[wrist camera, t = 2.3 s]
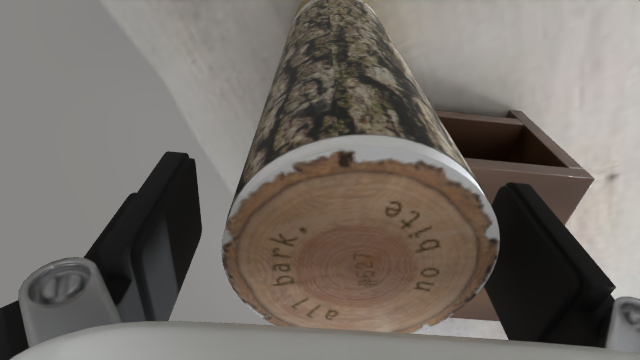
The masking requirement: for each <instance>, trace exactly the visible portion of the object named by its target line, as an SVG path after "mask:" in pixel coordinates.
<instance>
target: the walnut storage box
mask: <svg viewBox="0 0 640 360" xmlns="http://www.w3.org/2000/svg"><path fill="white" fill-rule="evenodd" d="M434 111H435V112H436V114H437V116H438V117H439V119H440V120H441V122H442V124H443V125H444V127H445V129H446V130H447V132H448V134H449V135H450V137H451V138H452V140H453V142H454V143H455V145H456V147H457V148H458V150H459V152H460V153H461V155H462V156H463V158H464V160H465V161H466V163H467V165H468V166H469V168H470V170H471V171H472V173H473V174H474V176H475V178H476V179H477V181H478V183H479V184H480V186H481V187H482V189H483V191H484V192H485V195H486V197H487V199H488V202H489V203H490V205H492V203H493V200H494V198H495V196H496V194H497V192H498V190H499V188H500V187H502V186H505V185H506V184H507V183H509V182H514V183H525V184H529V185H531V186H532V188H533V189H534V190H535V191H536V192H537V194H538V195H539V196H540V197H541V198H542V200H543V201H544V202H545V203H546V204H547V205H548V207H549V208H550V209H551V210H552V211H553V213H554V214H555V215H556V216H557V217H558V219H559V220H560V221H561V222H562V223H563V225H564V226H565V224H566V223H567V221H568V219H569V218H570V216H571V215H572V213H573V212H574V210H575V209H576V207H577V206H578V204H579V203H580V201H581V199H582V198H583V196H584V195H585V193H586V192H587V190H588V189H589V187H590V186H591V184H592V183H593V181H594V178H593V177H592V176H591V175H590V174H589V173H588V172H587V171H586V170H584V169H583V168H582V167H581V166H580V165H579V164H578V163H577V162H576V161H575V160H574V159H572V158H571V157H570V156H569V155H568V154H567V153H566V152H565V151H564V150H563V149H562V148H561V147H559V146H558V145H557V144H556V143H555V142H554V141H553V140H552V139H551V138H550V137H549V136H547V135H546V134H545V133H544V132H543V131H542V130H541V129H540V128H539V127H538V126H537V125H536V124H534V123H533V122H532V121H531V120H530V119H529V118H528V117H527V116H526V115H525V114H524V113H523V112H521V111H512V110H510V111H509V112H508V115H507V117H506V118H503V117H493V116H484V115H474V114H464V113H455V112H445V111H436V110H434ZM450 318H463V319H477V320H491V321H500V320H499V318H498V316H497V314H496V311H495V309H494V307H493V305H492V303H491V301H490V299H489V296H488V294H487V292H486V290H485V288H484V286H483V288H482V289H481V290H480V291H479V292H478V293H477V295H476V296H475V297H474V298H473V299H472V300H471V301H470V302H469V303H468V304H466V305H465V306H464V307H463V308H461V309H460V310H459V311H457V312H456V313H454V314H453V315H451V316H450Z"/></svg>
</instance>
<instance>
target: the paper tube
mask: <svg viewBox="0 0 640 360" xmlns="http://www.w3.org/2000/svg"><path fill="white" fill-rule="evenodd" d="M499 244H500V235H499V227H498V223H497V219H496V216H495V214H494V211H493V209H492V207H491V205H490V203H489V202H488V199H487V197H486V195H485V192H484V191H483V189H482V187H481V186H480V184H479V183H478V181H477V179H476V178H475V176H474V174H473V173H472V171H471V170H470V168H469V166H468V165H467V163H466V161H465V160H464V158H463V156H462V155H461V153H460V152H459V150H458V148H457V147H456V145H455V143H454V142H453V140H452V138H451V137H450V135H449V134H448V132H447V130H446V129H445V127H444V125H443V124H442V122H441V120H440V119H439V117H438V116H437V114H436V112H435V111H434V109H433V107H432V106H431V104H430V102H429V101H428V99H427V98H426V96H425V94H424V93H423V91H422V89H421V88H420V86H419V84H418V83H417V81H416V80H415V78H414V76H413V75H412V73H411V71H410V70H409V68H408V66H407V65H406V63H405V62H404V60H403V58H402V57H401V55H400V53H399V52H398V50H397V48H396V47H395V45H394V44H393V42H392V40H391V39H390V37H389V35H388V34H387V32H386V30H385V29H384V27H383V26H382V24H381V22H380V21H379V19H378V18H377V16H376V14H375V13H374V11H373V10H372V8H371V7H370V5H369V4H368V2H367V1H366V0H305V1H304V2H303V3H302V4H301V6H300V7H299V9H298V11H297V13H296V15H295V18H294V21H293V23H292V26H291V29H290V32H289V35H288V38H287V41H286V44H285V47H284V50H283V53H282V56H281V59H280V62H279V65H278V68H277V71H276V74H275V77H274V80H273V83H272V86H271V88H270V91H269V94H268V97H267V100H266V103H265V106H264V109H263V112H262V115H261V118H260V121H259V124H258V127H257V130H256V133H255V136H254V139H253V142H252V145H251V148H250V151H249V154H248V157H247V160H246V163H245V166H244V169H243V172H242V175H241V178H240V181H239V184H238V187H237V190H236V193H235V196H234V199H233V202H232V205H231V208H230V211H229V214H228V217H227V222H226V227H225V230H224V234H223V239H222V261H223V266H224V269H225V273H226V275H227V278H228V280H229V282H230V283H231V286H232V287H233V289H234V290H235V292H236V293H237V295H238V296H239V297H240V298H241V300H242V301H243V302H244V303H245V304H246V305H247V306H248V307H249V308H251V309H252V310H253V311H254V312H255V313H257V314H258V315H259V316H261V317H262V318H264V319H265V320H267V321H269V322H270V323H272V324H274V325H276V326H290V327H308V328H325V329H343V330H359V331H375V332H391V333H407V334H413V333H416V332H419V331H421V330H424V329H427V328H429V327H431V326H433V325H435V324H438V323H440V322H441V321H443V320H445V319H447V318H448V317H450V316H451V315H453V314H454V313H456V312H457V311H459V310H460V309H461V308H463V307H464V306H465V305H466V304H468V303H469V302H470V301H471V300H472V299H473V298H474V297H475V296H476V295H477V293H478V292H479V291H480V290H481V289H482V288H483V286H484V285H485V283H486V282H487V280H488V279H489V277H490V275H491V273H492V271H493V269H494V266H495V263H496V261H497V257H498V252H499Z"/></svg>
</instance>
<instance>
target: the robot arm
mask: <svg viewBox="0 0 640 360" xmlns="http://www.w3.org/2000/svg"><path fill="white" fill-rule="evenodd" d="M195 165H196V164H195V160H194V159H192V158H189V156H188V154H187V153H179V152H166V153H165V154H164V155H163V157H162V158H161V160H160V161H159V163H158V164H157V165H156V167H155V168H154V170H153V171H152V172H151V174H150V175H149V177H148V178H147V180H146V181H145V183H144V184H143V185H142V187H141V188H140V190H139V191H138V192H137V193H132V194H130V195H129V196H128V197H127V199H126V200H125V201H124V203H123V204H122V206H121V207H120V208H119V210H118V211H117V213H116V214H115V215H114V217H113V218H112V219H111V221H110V222H109V224H108V225H107V226H106V228H105V229H104V230H103V232H102V233H101V234H100V236H99V237H98V239H97V240H96V241H95V243H94V244H93V245H92V247H91V248H90V250H89V251H88V253H87V254H86V255H85V256H84V258H79V257H73V258H64V259H60V260H56V261H53V262H51V263H48V264H46V265H44V266H42V267H40V268H39V269H38V270H36V271H35V272H33V273H31V275H30V276H29V277H28V278H27V279H26V280H25V281H24V282H23V284H22V285H21V287H20V289H19V295H18V296H19V297H18V301H15V302H13V303H11V304H9V305H6V306H4V307H2V308H0V360H640V299H637V298H633V297H620V298H617V299H616V300H614V298H613V297H612V296H611V295H610V294H611V293H612V292H613V290H614V289H615V288H616V287H615V285H614V284H613V283H612V282H611V281H610V279H609V278H608V277H607V276H606V275H605V273H604V272H603V271H602V270H601V269H600V267H599V266H598V265H597V264H596V263H595V262H594V260H593V259H592V258H591V257H590V256H589V254H588V253H587V252H586V251H585V250H584V248H583V247H582V246H581V245H580V244H579V242H578V241H577V240H576V239H575V238H574V236H573V235H572V234H571V233H570V232H569V231H568V229H567V228H566V227H565V226H564V225H563V223H562V222H561V221H560V220H559V219H558V217H557V216H556V215H555V214H554V213H553V211H552V210H551V209H550V208H549V207H548V205H547V204H546V203H545V202H544V201H543V200H542V198H541V197H540V196H539V195H538V194H537V192H536V191H535V190H534V189H533V188H532V186H531V185H529V184H525V183H514V182H509V183H507V184H506V185H505V186H502V187H500V188H499V190H498V192H497V194H496V196H495V198H494V200H493V203H492V205H491V207H492V209H493V211H494V214H495V216H496V219H497V223H498V227H499V235H500V244H499V252H498V257H497V261H496V263H495V266H494V269H493V271H492V273H491V275H490V277H489V279H488V280H487V282H486V283H485V285H484V288H485V290H486V292H487V294H488V296H489V299H490V301H491V303H492V305H493V307H494V309H495V311H496V314H497V316H498V318H499V320H500V322H501V324H502V326H503V329H504V331H505V333H506V335H507V337H508V339H509V340H498V339H483V338H469V337H454V336H439V335H423V334H407V333H391V332H375V331H359V330H343V329H325V328H308V327H290V326H273V325H255V324H235V323H212V322H186V321H168V320H169V317H170V315H171V312H172V310H173V307H174V305H175V302H176V300H177V297H178V294H179V292H180V289H181V286H182V284H183V282H184V279H185V276H186V274H187V271H188V269H189V266H190V264H191V261H192V258H193V256H194V253H195V251H196V248H197V246H198V243H199V240H200V237H201V233H202V224H201V214H200V204H199V195H198V184H197V174H196V166H195Z"/></svg>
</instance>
